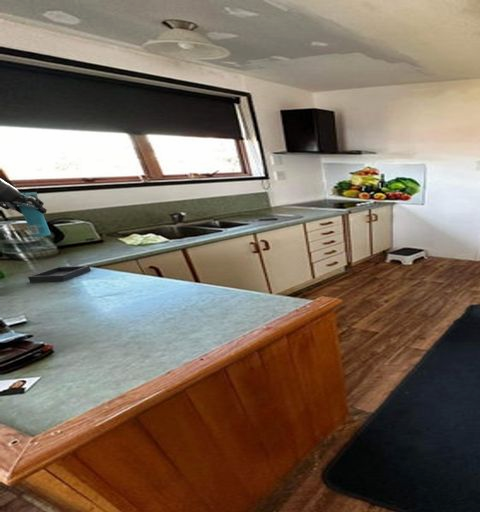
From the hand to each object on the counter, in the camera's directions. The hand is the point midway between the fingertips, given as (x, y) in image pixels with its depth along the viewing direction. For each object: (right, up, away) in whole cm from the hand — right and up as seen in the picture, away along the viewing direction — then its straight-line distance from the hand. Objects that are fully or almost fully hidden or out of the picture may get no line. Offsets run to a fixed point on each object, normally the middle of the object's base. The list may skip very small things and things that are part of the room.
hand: (35, 212), depth 121 cm
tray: (+3, -29, +8) cm, 30 cm away
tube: (+1, -10, +2) cm, 11 cm away
